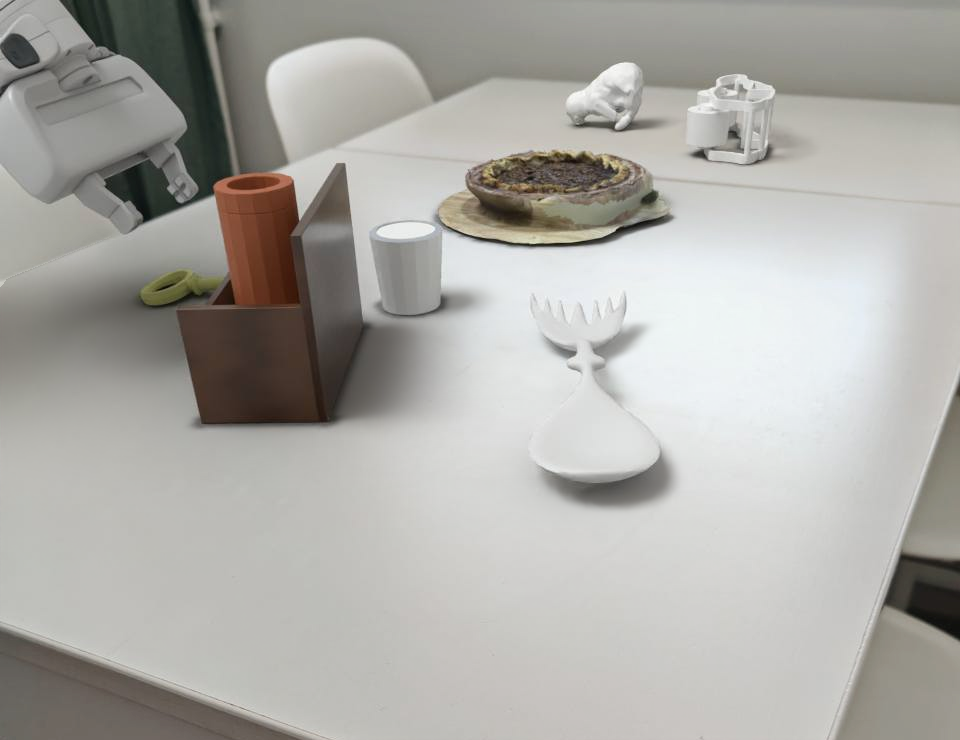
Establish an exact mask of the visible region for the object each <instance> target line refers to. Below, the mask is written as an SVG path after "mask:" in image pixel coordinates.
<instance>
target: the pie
mask: <svg viewBox="0 0 960 740" xmlns="http://www.w3.org/2000/svg"><path fill="white" fill-rule="evenodd" d="M464 177H465V178H464V179H465V180H464V184H465V187H466V189H464V190H462V191H459V192H457V193H454V194H452V195H450V196H449V197H447V198H446V199H445V200H444V201H443V202H441V204H440V206H438V218H439V219H440V221H441V222H442V223H443V224H444V225H445V226H446V227H448V228H449V227H450V228H451V229H453V230H455V231H458V232H461V233H463V234H466V235H469V236H473V237H477V238H483V239H489V240H490V239H493V240H499V241H502V242H507V243H513V244H529V245H535V244H555V243H556V244H558V243H559V244H561V243H562V244H563V243H565V244H566V243H567V244H568V243H576V242H577V243H578V242H583V241H589V240H595V239H596V240H597V239H601V238H604V237H606V236H608V235H611V234H612V233H614V232H616V230H617V229H619V228H627V227H630V226H633V225H636V224H638V223H640V222H641V223H642V222H646V221H654V220H655V219H658V218H661V217H664V216H665V215H667V214H668V213H669V212H670V211H671V207H670V206H669V205H668V204H665V201H664V200H661V199H660V196H661V195H660V192H659V190H655V189H654V175H653V174H652V172H651V171H649V170H648V169H647V168H646V167H644V166H643V165H640V164H639V163H637V162H634V161H633V160H631V159H628V158H626V157H623V156H619V155H616V154H612V153H599V154H596V155H595V154H594V153H593V152H592V151H591V150H581V151H579V152H577V153H576V152H575V151H572V150H571V149H567V150H562V151H560V150H558V149H551V150H550V151H549V152H547V151H546V150H544V151H539V150H538V151H534V150H533V149H529V150H528V151H523V152H517V153H512V154H510V155H507V156H504V157H502V158H499V159H496V160H495V159H493V158H491V159H488V160H487V161H486V162H481V163H478V164H476V165H474V166H471V168H467V172H466V173H465V176H464Z"/></svg>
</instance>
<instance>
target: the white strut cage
mask: <svg viewBox="0 0 960 740" xmlns="http://www.w3.org/2000/svg"><path fill="white" fill-rule="evenodd" d="M729 85H734V87H733V89H728V88H727V87H725V86H729ZM741 85H742V88H743V89H744V90H747V92H746V95H745V100H740V92H741V91H740V90H741ZM775 97H776V89H775V88H774V86H773V85H770V84H765V83H763V82H760V81H759V80H758V81H757V80H752V79H749V78H748V76H747V75H746V74H743V73H736V74H727V75H723V76H720V77H718V78H717V79H716V80H715V86H712V87H709V89H702V90H699V91H698V92H697V94H696V104H695V105H692V106H689V107H688V108H687V115H686V126H685V135H684V136H685V137H684V143H685V144H686V145H688V146H692V147H697V148H699V149H703V154H704V155H705V157H706V159H707V160H708V161H711V162H726V163H732V164H733V163H735V164H738V165H750V164H754V163H755V162H757V161H761V160H764V158H765V157H766V155H767V152H768V147H769V143H770V136H771V135H770V134H771V129H772V119H773V112H774V111H773V110H774V103H775ZM755 100H757V101H755ZM738 112H743V119H742V120H743V121H742V124H741V123H740V122H737V120H738V119H737V118H738ZM758 112H762V114H761V121H760V130H759V133H758V132H756V131H754V125H755V117H756V113H758ZM729 132H734V133H736V136H737V137H738V138H740V149H743V153H740V152H734V151H726V150H725V151H724V150H713V149H712V148H715V147H720V146H724V145H726V144H727V143H728V137H729ZM751 150H754V151H752V152H751Z"/></svg>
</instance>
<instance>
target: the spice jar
mask: <svg viewBox="0 0 960 740" xmlns="http://www.w3.org/2000/svg"><path fill="white" fill-rule="evenodd" d="M212 187H213V193H214V198H215V203H216V207H217V213H218V219H219V225H220V229H221V235H222V240H223V246H224V251H225V257H226V262H227V268H228V272H230V277H231V283H232V288H233V293H234V299H235V304H236V305H252V304H300V299H299V292H298V285H297V278H296V272H295V265H294V258H293V252H292V245H291V238H290V235H291V234H292V232H293V231H294V229H295V228H296V226H297V224H298V223H299V221H300V214H299V207H298V201H297V195H296V194H297V193H296V186H295V180H294V178H292V176H290V175H287V174H284V173H279V172H251V173H250V172H249V173H243V174H237V175H234V176H229V177H225V178H223V179H221V180H218V181H216V182H215V183H214V185H213V186H212Z"/></svg>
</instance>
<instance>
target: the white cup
mask: <svg viewBox="0 0 960 740" xmlns="http://www.w3.org/2000/svg"><path fill="white" fill-rule="evenodd" d="M368 234H369V240H370V246H371V251H372V258H373V262H374V267H375V272H376V279H377V283H378V288H379V289H378V290H379V293H380V297H381V298H380V300H381V305H382V309H383V310H384V311H386V312H387V313H390V314H392V315H393V314H394V315H397V316H416V315H417V316H419V315H423V314H427V313H430V312H432V311H435V310H436V309H438V308H439V307H440V306H441V297H442V295H441V293H442V263H443V262H442V258H443V226H441V225H440V224H438V223H436V222H432V221H427V220H420V219H419V220H417V219H409V220H408V219H406V220H404V219H403V220H394V221H390V222H389V221H388V222H384V223H381V224H379V225H376V226H373V228H371V229H370V230H369V231H368Z"/></svg>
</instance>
